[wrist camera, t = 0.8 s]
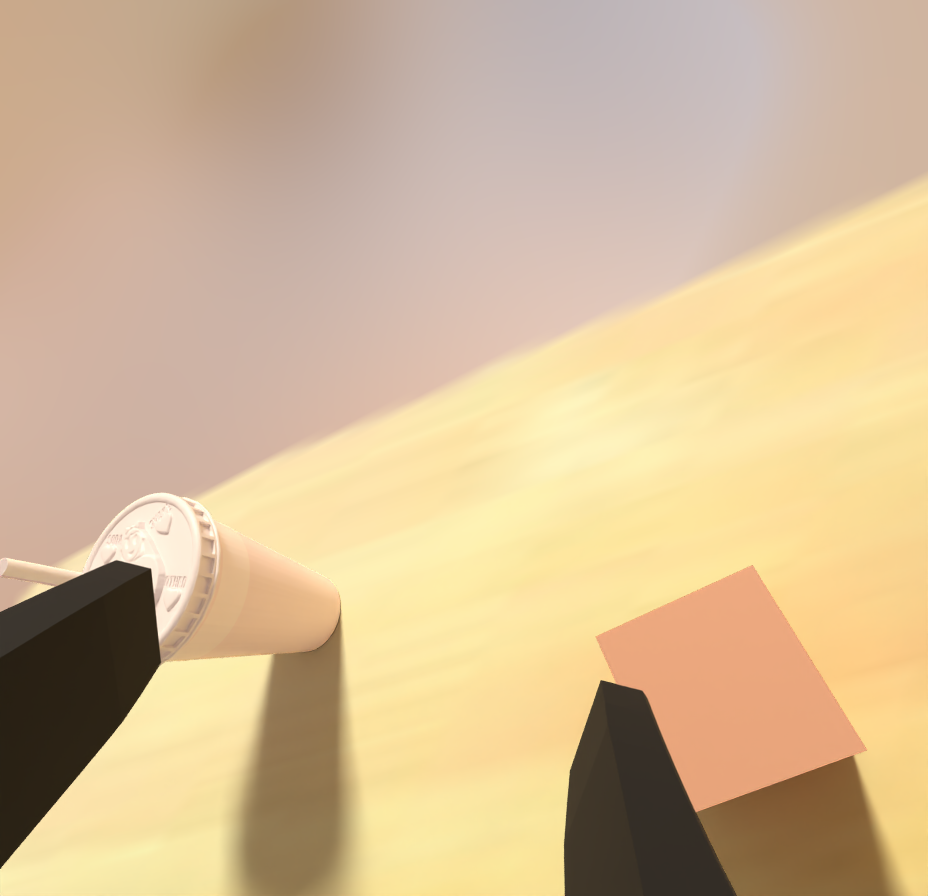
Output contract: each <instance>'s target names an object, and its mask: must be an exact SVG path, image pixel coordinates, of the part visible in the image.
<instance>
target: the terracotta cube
mask: <svg viewBox="0 0 928 896" xmlns="http://www.w3.org/2000/svg"><path fill="white" fill-rule="evenodd" d="M596 638H597V641H598V643H599V645H600V648H601V650H602V652H603V654H604V657H605V659H606V661H607V663H608V666H609V668H610V670H611V672H612V675H613V677H614V679H615V681H616V684H618V685H622V686H626V687H630V688H634V689H638V690H642V691H643V692H644V694H645V695H646V697H647V698H648V701H649V703H650V706H651V709H652V711H653V714H654V716H655V719H656V721H657V724H658V726H659V729H660V731H661V734H662V736H663V739H664V741H665V743H666V746H667V748H668V751H669V753H670V755H671V758H672V760H673V762H674V765H675V767H676V769H677V772H678V774H679V776H680V778H681V781H682V783H683V785H684V788H685V790H686V792H687V794H688V796H689V799H690V801H691V803H692V805H693V807H694V810H695V812H698V811H701V810H703V809H706V808H709V807H712V806H714V805H717V804H720V803H723V802H725V801H728V800H731V799H734V798H736V797H739V796H742V795H745V794H748V793H750V792H753V791H756V790H759V789H761V788H764V787H767V786H770V785H772V784H775V783H778V782H781V781H783V780H786V779H789V778H792V777H794V776H797V775H800V774H803V773H805V772H808V771H811V770H814V769H817V768H819V767H822V766H825V765H828V764H830V763H833V762H836V761H839V760H841V759H844V758H847V757H850V756H852V755H855V754H858V753H861V752H863V751H866V750H867V749H866V747H865V746H864V744H863V743H862V741H861V739H860V738H859V736H858V735H857V733H856V731H855V730H854V728H853V726H852V725H851V723H850V722H849V720H848V718H847V717H846V715H845V714H844V712H843V710H842V709H841V707H840V705H839V704H838V702H837V701H836V699H835V697H834V696H833V694H832V693H831V691H830V689H829V688H828V686H827V684H826V683H825V681H824V680H823V678H822V676H821V675H820V673H819V672H818V670H817V668H816V667H815V665H814V663H813V662H812V660H811V659H810V657H809V655H808V654H807V652H806V651H805V649H804V647H803V646H802V644H801V642H800V641H799V639H798V638H797V636H796V634H795V633H794V631H793V630H792V628H791V626H790V625H789V623H788V622H787V620H786V618H785V617H784V615H783V613H782V612H781V610H780V609H779V607H778V605H777V604H776V602H775V601H774V599H773V597H772V596H771V594H770V592H769V591H768V589H767V588H766V586H765V584H764V583H763V581H762V580H761V578H760V576H759V575H758V573H757V571H756V570H755V568H754V567H753V565H752V566H749V567H747V568H745V569H743V570H741V571H738V572H736V573H734V574H732V575H730V576H727V577H725V578H723V579H721V580H719V581H716V582H714V583H712V584H710V585H708V586H705V587H703V588H701V589H699V590H697V591H695V592H692V593H690V594H688V595H686V596H684V597H681V598H679V599H677V600H675V601H673V602H670V603H668V604H666V605H664V606H662V607H659V608H657V609H655V610H653V611H651V612H648V613H646V614H644V615H642V616H640V617H637V618H635V619H633V620H631V621H629V622H627V623H624V624H622V625H620V626H618V627H616V628H613V629H611V630H609V631H607V632H605V633H602V634H600V635H598V636H596Z"/></svg>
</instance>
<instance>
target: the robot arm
mask: <svg viewBox="0 0 928 896" xmlns="http://www.w3.org/2000/svg"><path fill="white" fill-rule="evenodd" d="M160 664H161V657H160V647H159V638H158V628H157V618H156V609H155V599H154V590H153V580H152V571H151V568H147V567H143V566H139V565H135V564H131V563H127V562H123V561H119V560H115V561H113V562H110V563H108V564H105V565H103V566H101V567H98V568H96V569H94V570H91V571H89V572H87V573H84V574H82V575H80V576H78V577H76V578H73V579H71V580H69V581H67V582H65V583H62V584H60V585H58V586H56V587H54V588H51V589H49V590H47V591H45V592H43V593H41V594H38V595H36V596H34V597H32V598H30V599H28V600H25V601H23V602H21V603H19V604H17V605H15V606H12V607H10V608H8V609H6V610H4V611H2V612H0V869H1V867H2V866H3V865H4V864H5V862H6V861H7V860H8V859H9V858H10V856H11V855H12V854H13V853H14V852H15V850H16V849H17V848H18V847H19V846H20V845H21V843H22V842H23V841H24V840H25V839H26V837H27V836H28V835H29V834H30V833H31V831H32V830H33V829H34V828H35V827H36V825H37V824H38V823H39V822H40V821H41V820H42V818H43V817H44V816H45V815H46V814H47V812H48V811H49V810H50V809H51V808H52V806H53V805H54V804H55V803H56V802H57V800H58V799H59V798H60V797H61V796H62V794H63V793H64V792H65V791H66V790H67V789H68V787H69V786H70V785H71V784H72V783H73V781H74V780H75V779H76V778H77V777H78V775H79V774H80V773H81V772H82V771H83V769H84V768H85V767H86V766H87V765H88V763H89V762H90V761H91V760H92V759H93V757H94V756H95V755H96V754H97V753H98V751H99V750H100V749H101V748H102V746H103V745H104V744H105V743H106V742H107V740H108V739H109V738H110V737H111V736H112V734H113V733H114V732H115V731H116V729H117V728H118V727H119V726H120V724H121V723H122V722H123V720H124V719H125V717H126V716H127V714H128V713H129V712H130V710H131V709H132V707H133V706H134V704H135V703H136V701H137V700H138V698H139V697H140V695H141V694H142V692H143V691H144V689H145V687H146V686H147V684H148V683H149V681H150V680H151V678H152V676H153V675H154V673H155V672H156V670H157V668H158V667H159V665H160ZM564 874H565V896H737V895H736V893H735V891H734V889H733V887H732V885H731V883H730V881H729V879H728V877H727V875H726V873H725V872H724V870H723V868H722V866H721V864H720V862H719V860H718V857H717V855H716V853H715V851H714V849H713V847H712V845H711V843H710V841H709V839H708V837H707V835H706V832H705V830H704V828H703V826H702V824H701V822H700V820H699V818H698V816H697V814H696V812H695V810H694V807H693V805H692V803H691V801H690V799H689V796H688V794H687V792H686V790H685V788H684V785H683V783H682V781H681V778H680V776H679V774H678V772H677V769H676V767H675V765H674V762H673V760H672V758H671V755H670V753H669V751H668V748H667V746H666V743H665V741H664V739H663V736H662V734H661V731H660V729H659V726H658V724H657V721H656V719H655V716H654V714H653V711H652V709H651V706H650V703H649V701H648V698H647V697H646V695H645V694H644V692H643V691H642V690H638V689H634V688H630V687H626V686H622V685H618V684H614V683H610V682H606V681H602V680H601V681H600V684H599V687H598V690H597V693H596V696H595V699H594V702H593V705H592V708H591V711H590V714H589V717H588V720H587V722H586V725H585V728H584V731H583V734H582V737H581V740H580V743H579V746H578V749H577V752H576V755H575V758H574V761H573V764H572V766H571V769H570V777H569V788H568V800H567V812H566V826H565V839H564Z"/></svg>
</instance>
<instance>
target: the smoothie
mask: <svg viewBox="0 0 928 896" xmlns="http://www.w3.org/2000/svg"><path fill="white" fill-rule="evenodd" d="M115 560H119V561H123V562H127V563H131V564H135V565H139V566H143V567H147V568H151V571H152V580H153V590H154V599H155V609H156V618H157V628H158V638H159V647H160V657H161V664H163V663H165V662H168V661H187V660H196V659H210V658H224V657H238V656H252V655H267V654H281V653H295V652H308V651H312V650H315V649H317V648H319V647H320V646H322V645H323V644H324V643H325V642H326V641H327V640H328V639H329V638H330V636H331V635H332V633H333V632H334V630H335V628H336V625H337V623H338V619H339V615H340V597H339V593H338V590H337V588H336V586H335V585H334V583H333V582H332V581H331V580H330V579H329V578H327V577H325V576H323V575H322V574H320V573H318V572H316V571H314V570H312V569H310V568H308V567H306V566H304V565H302V564H300V563H298V562H296V561H294V560H292V559H290V558H288V557H286V556H284V555H282V554H280V553H278V552H276V551H274V550H272V549H271V548H269V547H267V546H265V545H263V544H261V543H259V542H257V541H255V540H253V539H251V538H249V537H247V536H245V535H243V534H241V533H239V532H237V531H235V530H233V529H232V528H230V527H228V526H226V525H224V524H222V523H220V522H218V521H216V520H214V519H213V518H212V516H211V514H210V513H209V512H208V511H207V510H206V509H205V508H204V507H203V506H202V505H201V504H200V503H199V502H197V501H194V500H191V499H189V498H186V497H182V498H180V497H178V496H175V495H172V494H168V493H155V494H151V495H148V496H145V497H142V498H140V499H138V500H136V501H135V502H133V503H132V504H130V505H129V506H127V507H126V508H125V509H124V510H123V511H121V512H120V513H119V514H118V515H117V516H116V517H115V518H114V519H113V520H112V521H111V522H110V524H109V525H108V526H107V527H106V528H105V530H104V531H103V533H102V534H101V536H100V537H99V539H98V540H97V542H96V543H95V545H94V547H93V549H92V551H91V553H90V555H89V557H88V559H87V562H86V564H85V567H84V569H83V572H82V573H81V572H76V571H71V570H66V569H60V568H55V567H50V566H45V565H39V564H34V563H30V562H24V561H19V560H14V559H9V558H3V559H1V560H0V577H4V578H10V579H16V580H21V581H27V582H33V583H39V584H45V585H51V586H58V585H60V584H62V583H65V582H67V581H69V580H71V579H73V578H76V577H78V576H80V575H82V574H84V573H87V572H89V571H91V570H94V569H96V568H98V567H101V566H103V565H105V564H108V563H110V562H113V561H115ZM161 664H160V665H161ZM160 665H159V666H160Z"/></svg>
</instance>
